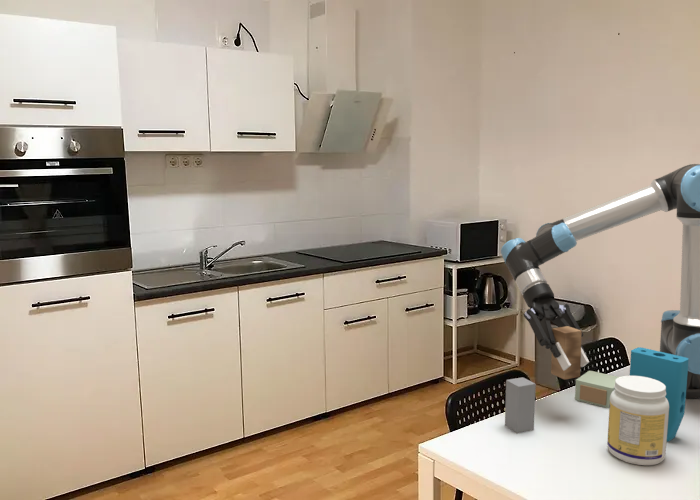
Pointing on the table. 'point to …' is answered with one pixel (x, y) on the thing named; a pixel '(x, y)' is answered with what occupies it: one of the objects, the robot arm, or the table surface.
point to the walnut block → (567, 352)
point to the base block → (595, 388)
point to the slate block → (520, 405)
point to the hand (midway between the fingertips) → (576, 366)
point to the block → (664, 380)
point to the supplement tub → (638, 420)
